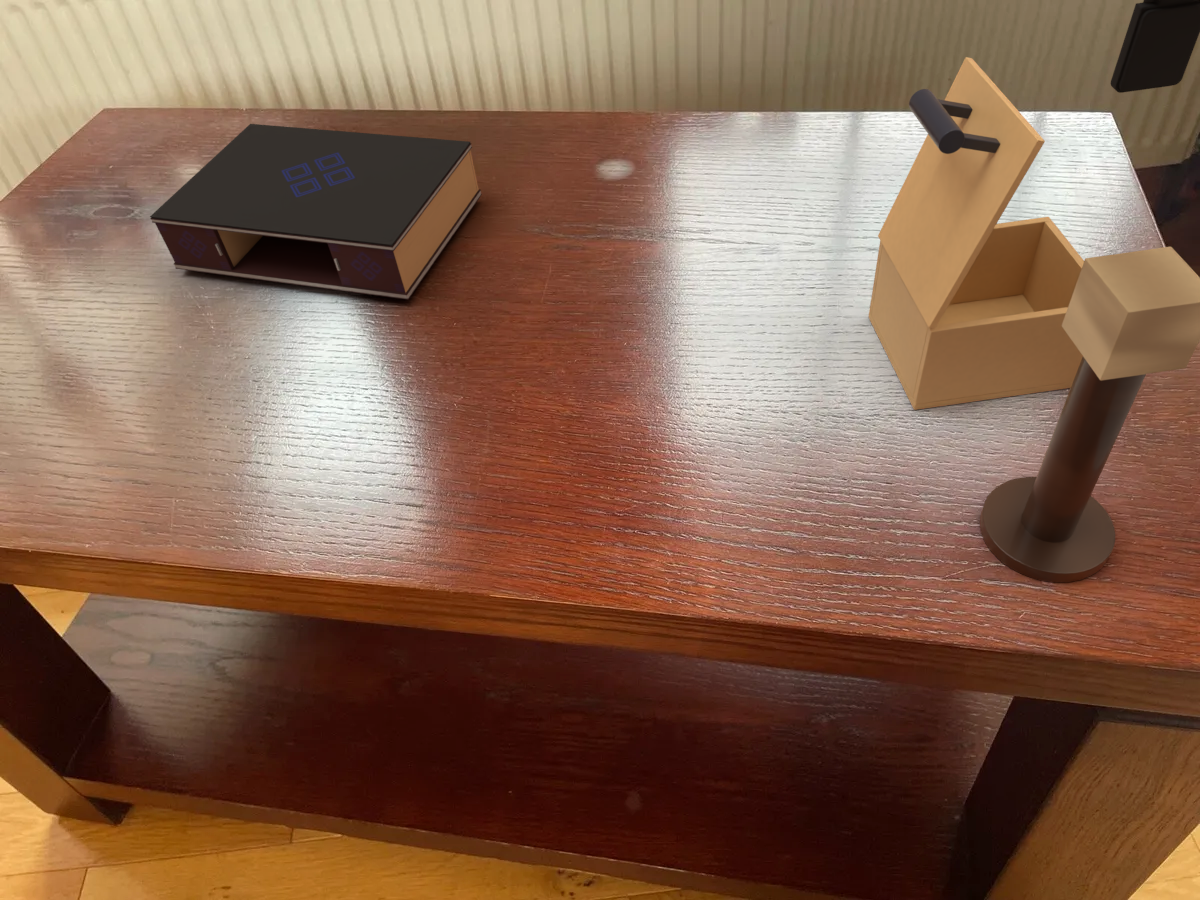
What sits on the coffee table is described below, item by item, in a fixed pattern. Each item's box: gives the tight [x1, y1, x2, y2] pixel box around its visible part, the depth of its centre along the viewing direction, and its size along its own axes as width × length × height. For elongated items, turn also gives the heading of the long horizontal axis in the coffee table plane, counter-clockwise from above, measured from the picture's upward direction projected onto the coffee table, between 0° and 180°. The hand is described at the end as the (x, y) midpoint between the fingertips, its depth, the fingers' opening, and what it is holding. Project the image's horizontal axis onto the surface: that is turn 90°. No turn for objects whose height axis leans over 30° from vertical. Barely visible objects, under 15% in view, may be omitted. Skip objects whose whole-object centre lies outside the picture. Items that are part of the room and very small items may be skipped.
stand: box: [979, 357, 1147, 583], centre depth 56 cm, size 8×8×16 cm
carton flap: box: [877, 56, 1046, 328], centre depth 63 cm, size 14×11×5 cm
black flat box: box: [149, 123, 482, 300], centre depth 90 cm, size 17×25×7 cm
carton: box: [868, 216, 1085, 411], centre depth 71 cm, size 13×11×8 cm
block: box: [1062, 246, 1200, 380], centre depth 48 cm, size 4×4×4 cm
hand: (1199, 137), depth 41 cm, fingers open, 9 cm apart
